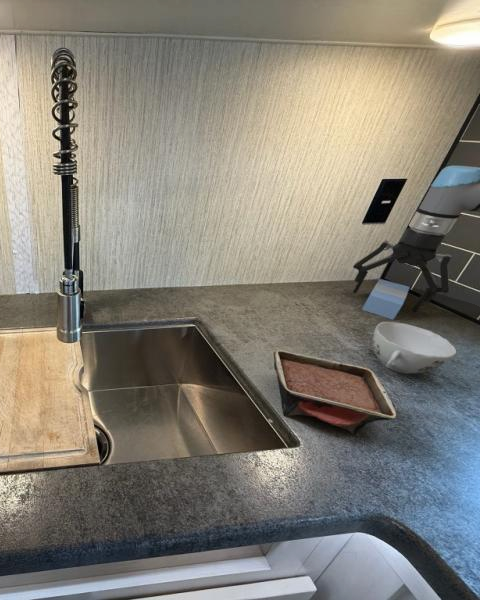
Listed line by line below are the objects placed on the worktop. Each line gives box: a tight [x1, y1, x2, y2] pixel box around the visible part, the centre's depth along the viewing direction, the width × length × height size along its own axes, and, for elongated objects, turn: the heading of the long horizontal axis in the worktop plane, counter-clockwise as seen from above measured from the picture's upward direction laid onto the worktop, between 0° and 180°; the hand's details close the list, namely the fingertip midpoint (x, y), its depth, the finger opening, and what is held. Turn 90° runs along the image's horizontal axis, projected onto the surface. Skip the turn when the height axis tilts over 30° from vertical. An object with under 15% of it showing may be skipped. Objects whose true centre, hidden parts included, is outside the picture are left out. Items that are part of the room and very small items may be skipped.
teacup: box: [372, 321, 457, 375], centre depth 68 cm, size 15×12×8 cm
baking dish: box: [273, 349, 398, 436], centre depth 59 cm, size 14×18×10 cm
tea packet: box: [361, 278, 410, 321], centre depth 91 cm, size 15×7×5 cm, turn 132°
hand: (383, 300), depth 92 cm, fingers open, 13 cm apart
